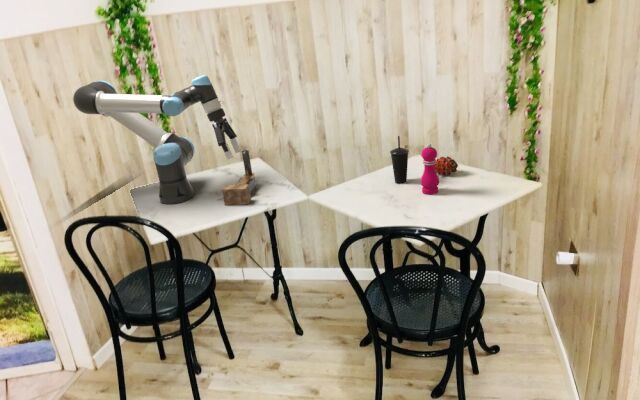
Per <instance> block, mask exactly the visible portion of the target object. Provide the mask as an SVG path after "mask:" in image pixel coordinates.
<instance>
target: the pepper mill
mask: <svg viewBox="0 0 640 400" xmlns="http://www.w3.org/2000/svg"><path fill="white" fill-rule="evenodd" d="M420 155H421V157H422V165H423V167H424V169H423V173H422V176H421V178H420V185H421V186H422V188H421V189H422V191H421V192H422V194H423V195H427V196H431V195H436V194H438V193H439V187H438V186H439V184H440V178H439V176H438V175H439V174H438V173H436V171H435V163H436V160H437V156H438V151H437V149H436V148H434V147H432V144H431V143H427V144H426V147H425V148H423V149H422V151H421V154H420Z"/></svg>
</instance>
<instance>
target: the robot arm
mask: <svg viewBox="0 0 640 400" xmlns="http://www.w3.org/2000/svg"><path fill="white" fill-rule="evenodd" d="M72 101H73V105H74V106H75V108H76V109H77V110H78V111H79V112H80V113H83V114H86V115H102V116H103V117H105V118H107V117H110V118H112V119H113V120H115V121H116V122H118V123H119V124H121V125H122V126H123V127H125V128H126V129H128V130H129V131H131V132H132V133H134V134H135V135H136V136H137V137H139V138H140V139H142V140H144V141H146V142H147V143H148V144H149V145H151V146H152V147H153V148H154V150H153V153H152V154H153V155H152V156H153V161H154V166H155V169H156V173H157V178H158V182H159V191H158V199H159V202H160V203H162V204H166V205H172V204H175V205H176V204H179V203H183V202H186V201H189V200H190V199H192V198H194V196H195V191H194V188H193V186H192V185H191V183H190V181H189V179H188V178H187V173H186V169H185V168H186V165H188V163H190V161H192V159H193V157H194V156H195V145H194V144H193V141H191V140H190V139H189V138H187V137H185V136H179V135H177V134H176V133H174V132H167V131H165V130H164V129H162V127H160V126H158V125H157V124H155V123H154V122H152V120H149V118H147V117H146V116H145V115H143V114H164V115H165V114H166V115H167V116H169V117H176V116H179V115H180V114H181V113H183V112H184V111H185V110H186V109H188V108H189V107H191V106H193V105H195V104H197V103H201V106H202V108H203V110H204V112H205V114H206V116H207V119H208V120H209V123H212V124H211V125H212V127H213V132H214V133H215V138H216V142H217V145H218V147H221V149H222V151H223V153H224V156H225V158H226V159H227V160H230V159H233V158H234V155H233V152H232V151H231V149H230V147H229V144H228V143H227V142H226V136H227V137H228V138H229V141H230V144H231V146H232V148H233V151H234V152H235V154H237V153H240V152H242V149H241V147H240V144H239V143H238V140H237V137H238V136H237V135H238V134H236V133H235V131H234V129H233V127H231V124H229V121H228V119H227V118H226V117H225V116H226V112H225V110H224V108H222V104H221V100H220V99H219V97H218V95H217V92H216V90H215V89H214V86H213V84H212V82H211V80H210V77H209V76H208V74H203V75H200V76H197V77H195V78H194V79H192V80H191V85H190V86H188V87H186V88H183V89H181V90H179V91H176V92H174V93H172V94H170V95H166V94H165V95H161V94H160V95H159V94H158V95H157V94H133V93H132V94H131V93H130V94H129V93H128V94H126V93H117V91H116V88H115V86H113V85H112V83H110V82H108V81H105V80H95V81H92V82H90V83H88V84H85V85H84V86H81V87H78V89H76V90H75V92H74V94H73V98H72ZM225 135H226V136H225Z"/></svg>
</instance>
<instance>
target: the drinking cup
mask: <svg viewBox="0 0 640 400" xmlns="http://www.w3.org/2000/svg"><path fill="white" fill-rule="evenodd" d="M400 141H401V139H400V135H397V147H396V148H393V149H392V150H390V151H389V154H390V157H391V164H392V170H393V177H394V178H393V179H394V183H395V184H396V185H397V184H398V185H404V184H406V183H407V180H408V162H409V159H408V158H409V153H410V150H409V149H408V148H404V147H401V142H400Z"/></svg>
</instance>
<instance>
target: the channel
mask: <svg viewBox="0 0 640 400" xmlns="http://www.w3.org/2000/svg"><path fill="white" fill-rule="evenodd" d="M241 179H242V177H240V178H239V179H238V180H237V181H236V182H235V183H234V185H236V184H237V183H238V182H239V181H240V180H241ZM256 182H257V181H256V176H255V177H253V178H252V179H251V180H250V181H249V183H248V185H249V190H250V196H251V197H252V195H253V193H254V192H255V191H256V189H257V183H256Z"/></svg>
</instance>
